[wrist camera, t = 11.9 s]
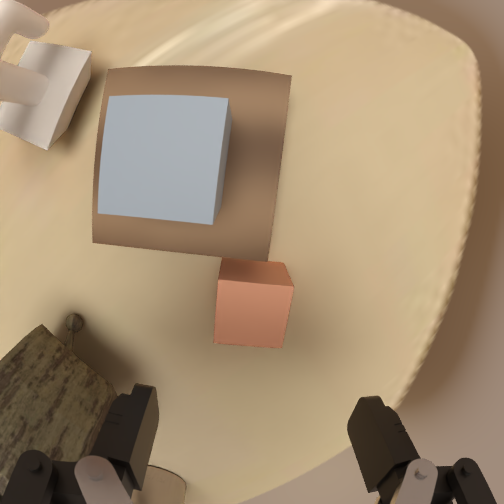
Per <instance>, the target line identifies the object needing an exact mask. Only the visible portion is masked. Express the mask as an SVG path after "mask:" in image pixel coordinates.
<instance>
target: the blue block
mask: <svg viewBox="0 0 504 504" xmlns="http://www.w3.org/2000/svg"><path fill="white" fill-rule="evenodd" d="M231 125H232V115H231V109H230V103H229V98H219V97H206V96H188V95H122V96H109V101H108V107H107V113H106V119H105V126H104V134H103V142H102V151H101V161H100V174H99V190H98V214H110V215H121V216H131V217H142V218H152V219H162V220H172V221H181V222H191V223H200V224H209V225H213V223H214V221H215V219H216V217H217V215H218V213H219V210H220V208H221V203H222V194H223V186H224V178H225V170H226V162H227V154H228V147H229V139H230V132H231Z"/></svg>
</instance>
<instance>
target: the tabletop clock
mask: <svg viewBox="0 0 504 504" xmlns="http://www.w3.org/2000/svg"><path fill="white" fill-rule="evenodd" d="M82 324H83V323H82V320H81V318H80V317H79V316H78V315H76V314H71V315H70V316H68V317H67V319H66V326H67V328H68V329H69V333H68V335H67V338H66V341H65V344H62V343H61V342H60V341H59V340H58V339H57V338H56V337H55V336H54V335H53V334H52V333H51V332H50V331H49V330H48V329H47V328H46V327H45V326H44V325H43V324H41V325H40V326H38V327H37V328H35V329H34V330H33V331H31V332H30V333H29V334H28V335H27V336H25V337H24V338H23V339H22V340H21V341H20V342H19V343H18V344H17V345H16V346H15V347H14V348H13V349H12V350H11V351H10V352H9V353H8V354H6V355H5V356H4V357H3V358H2V359H1V360H0V502H1V499H2V497H3V494H4V492H5V489H6V487H7V484H8V482H9V479H10V477H11V474H12V472H13V470H14V468H15V465H16V463H17V461H18V459H19V457H20V455H21V454H22V453H24V452H25V451H28V450H39V451H41V452H43V453H45V454H46V455H47V456H48V457H49V458H50V460H56V461H66V462H76V461H79V460H80V459H82V458H84V457H86V456H88V455H89V454H90V452H91V451H92V448H93V446H94V443H95V441H96V439H97V436H98V434H99V432H100V429H101V427H102V425H103V422H105V418H106V415H107V414H108V411H109V409H110V406H111V404H112V402H113V401H114V400H115V399H116V398H117V397H118V396H117V394H116V392H115V390H114V388H113V386H112V384H111V383H109V382H108V381H107V380H105V379H104V378H103V377H101V376H100V375H99V374H98V373H96V372H95V371H94V370H93V369H91V368H90V367H89V366H88V365H87V364H85V363H84V362H83V361H82V360H81V359H79V358H78V357H77V356H76V355H75V354H74V353H72V346H73V339H74V333H75V332H78V331H80V330H81V328H82Z"/></svg>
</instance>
